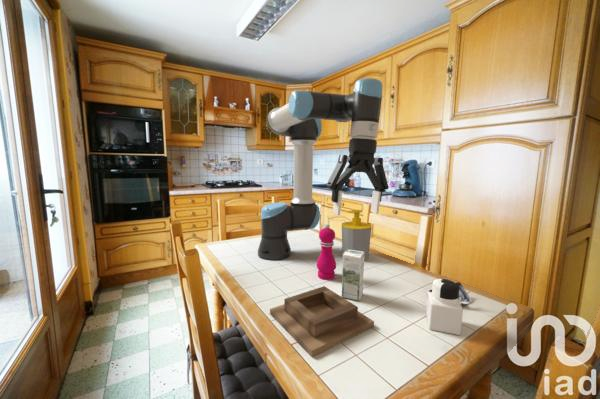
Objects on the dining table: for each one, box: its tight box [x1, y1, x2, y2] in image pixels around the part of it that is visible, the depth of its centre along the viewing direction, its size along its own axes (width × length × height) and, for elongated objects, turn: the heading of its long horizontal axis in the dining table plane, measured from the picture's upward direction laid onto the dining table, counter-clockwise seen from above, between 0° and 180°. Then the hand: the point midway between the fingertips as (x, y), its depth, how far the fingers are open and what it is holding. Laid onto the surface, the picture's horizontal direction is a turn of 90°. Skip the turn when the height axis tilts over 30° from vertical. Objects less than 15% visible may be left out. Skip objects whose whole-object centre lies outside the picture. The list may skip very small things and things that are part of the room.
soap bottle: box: [341, 209, 372, 261], centre depth 120 cm, size 13×13×21 cm
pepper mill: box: [316, 223, 337, 281], centre depth 99 cm, size 7×7×20 cm
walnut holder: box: [269, 285, 375, 358], centre depth 73 cm, size 20×20×5 cm
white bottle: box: [425, 278, 464, 336], centre depth 70 cm, size 7×7×12 cm
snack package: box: [428, 282, 473, 306], centre depth 82 cm, size 12×6×12 cm
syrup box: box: [341, 249, 365, 302], centre depth 85 cm, size 6×6×14 cm
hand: (356, 213), depth 78 cm, fingers open, 13 cm apart
